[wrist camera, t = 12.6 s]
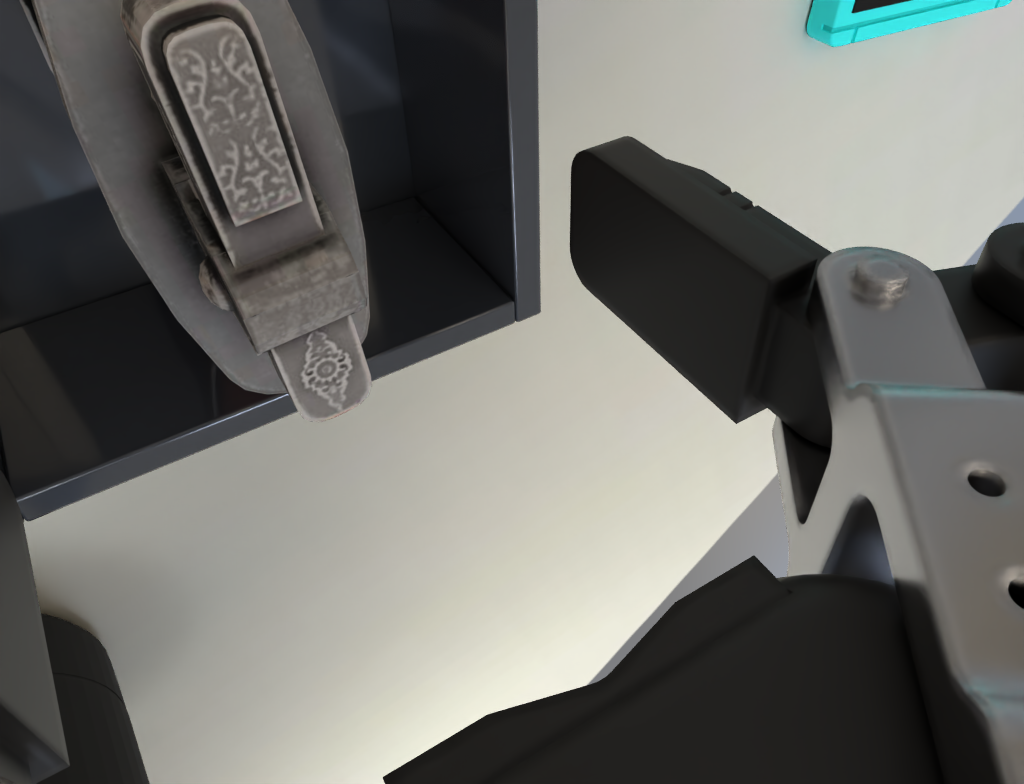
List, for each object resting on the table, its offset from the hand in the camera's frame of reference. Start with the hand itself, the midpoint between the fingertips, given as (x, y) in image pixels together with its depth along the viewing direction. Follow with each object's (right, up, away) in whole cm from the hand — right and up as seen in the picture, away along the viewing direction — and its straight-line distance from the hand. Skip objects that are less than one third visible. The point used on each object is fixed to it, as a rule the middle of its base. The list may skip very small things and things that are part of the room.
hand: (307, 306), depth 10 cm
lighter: (-5, +6, +6) cm, 10 cm away
